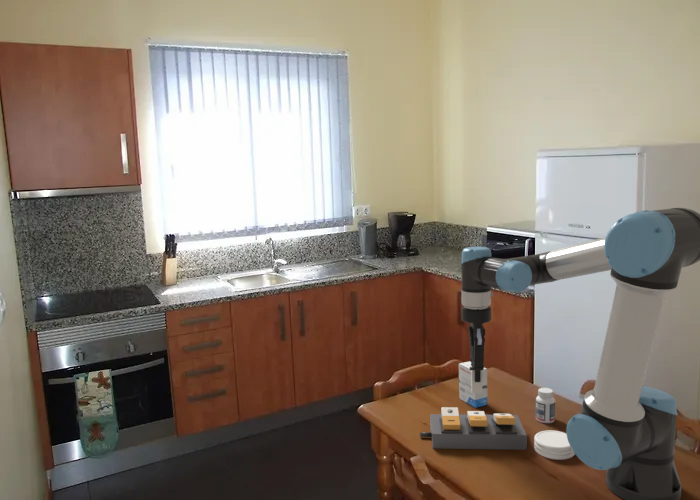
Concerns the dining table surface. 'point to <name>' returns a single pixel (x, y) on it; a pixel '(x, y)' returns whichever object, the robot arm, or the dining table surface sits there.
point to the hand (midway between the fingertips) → (476, 391)
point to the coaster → (553, 445)
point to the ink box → (465, 386)
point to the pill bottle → (545, 406)
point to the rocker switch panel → (477, 434)
